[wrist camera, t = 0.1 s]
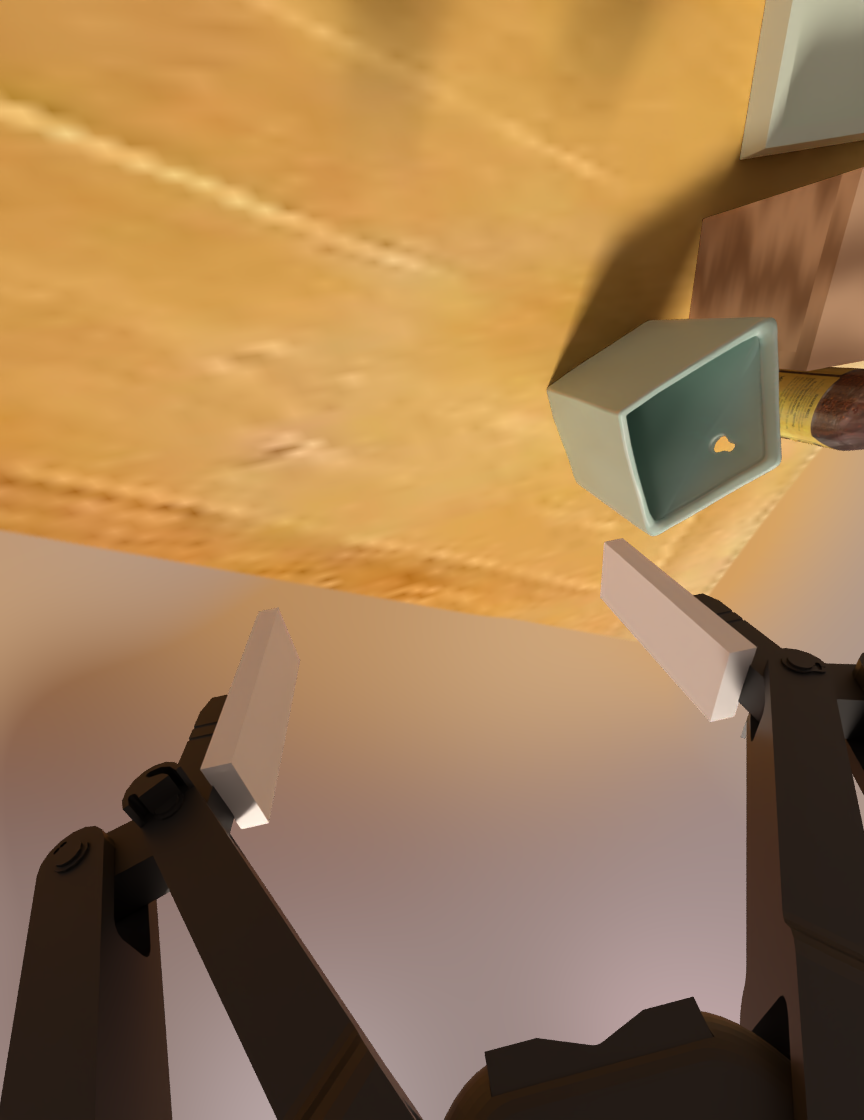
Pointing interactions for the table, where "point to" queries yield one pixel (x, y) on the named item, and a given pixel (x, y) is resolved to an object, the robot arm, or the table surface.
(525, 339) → the table surface
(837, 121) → the tray
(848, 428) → the sauce bottle
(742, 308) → the wooden open box
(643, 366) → the grey piece
